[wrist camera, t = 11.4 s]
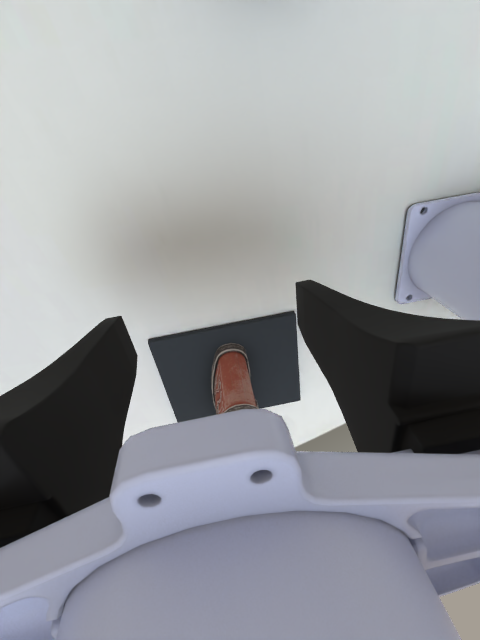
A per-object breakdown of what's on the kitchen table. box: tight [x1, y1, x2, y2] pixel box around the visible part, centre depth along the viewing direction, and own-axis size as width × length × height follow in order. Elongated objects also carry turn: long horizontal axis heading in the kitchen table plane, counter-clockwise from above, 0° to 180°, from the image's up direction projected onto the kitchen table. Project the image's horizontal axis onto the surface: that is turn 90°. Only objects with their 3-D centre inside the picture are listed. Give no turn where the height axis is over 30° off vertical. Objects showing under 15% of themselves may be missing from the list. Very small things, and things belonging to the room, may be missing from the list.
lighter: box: [211, 343, 259, 415], centre depth 24 cm, size 8×3×10 cm, turn 179°
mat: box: [148, 311, 300, 422], centre depth 28 cm, size 12×10×1 cm
